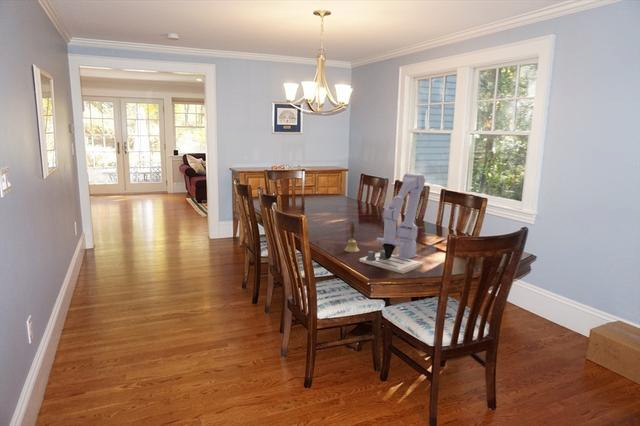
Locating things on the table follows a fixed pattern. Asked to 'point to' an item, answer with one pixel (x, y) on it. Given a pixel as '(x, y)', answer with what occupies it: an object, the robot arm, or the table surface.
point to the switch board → (394, 263)
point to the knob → (371, 256)
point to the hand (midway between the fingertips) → (388, 258)
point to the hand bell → (352, 241)
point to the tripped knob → (382, 255)
